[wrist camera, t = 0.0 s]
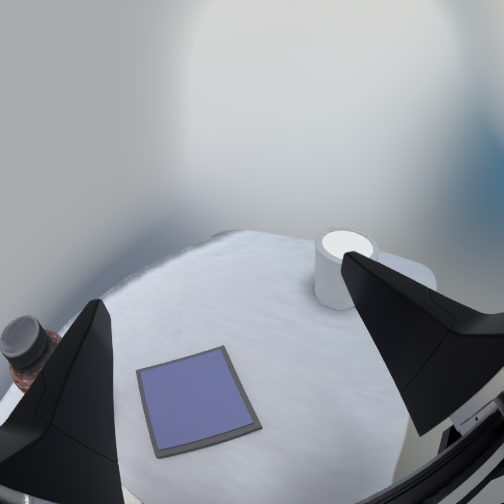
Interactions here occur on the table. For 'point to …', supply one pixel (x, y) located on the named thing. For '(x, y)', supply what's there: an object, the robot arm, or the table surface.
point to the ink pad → (194, 403)
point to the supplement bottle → (27, 349)
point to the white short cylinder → (338, 264)
